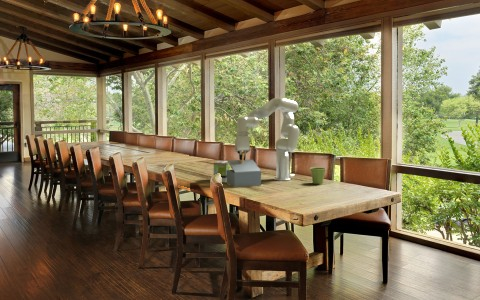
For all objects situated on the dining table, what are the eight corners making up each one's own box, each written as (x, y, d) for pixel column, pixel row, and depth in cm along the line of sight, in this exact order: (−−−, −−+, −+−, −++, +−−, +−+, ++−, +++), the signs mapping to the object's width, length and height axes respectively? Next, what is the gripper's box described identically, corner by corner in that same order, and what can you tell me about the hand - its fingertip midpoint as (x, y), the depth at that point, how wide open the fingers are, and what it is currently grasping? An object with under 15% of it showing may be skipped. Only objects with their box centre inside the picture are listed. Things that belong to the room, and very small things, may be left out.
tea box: (226, 182, 311) (226, 162, 309) (213, 182, 313) (213, 162, 311) (230, 179, 325) (230, 160, 324) (218, 179, 327) (218, 160, 326)
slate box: (251, 182, 314) (252, 168, 313) (260, 185, 299) (261, 171, 298) (226, 183, 307) (226, 170, 306) (234, 187, 292) (234, 173, 291)
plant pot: (329, 183, 310) (329, 168, 309) (320, 185, 301) (320, 169, 300) (315, 181, 318) (315, 166, 317) (306, 183, 309) (306, 168, 308)
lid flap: (252, 160, 311) (254, 151, 308) (260, 171, 298) (262, 161, 295) (227, 161, 304) (229, 152, 300) (234, 172, 291) (236, 163, 287)
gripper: (250, 133, 308) (250, 158, 310) (230, 134, 303) (230, 159, 304) (254, 134, 301) (254, 160, 303) (234, 134, 296) (234, 160, 297)
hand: (242, 159), depth 304 cm, fingers closed
